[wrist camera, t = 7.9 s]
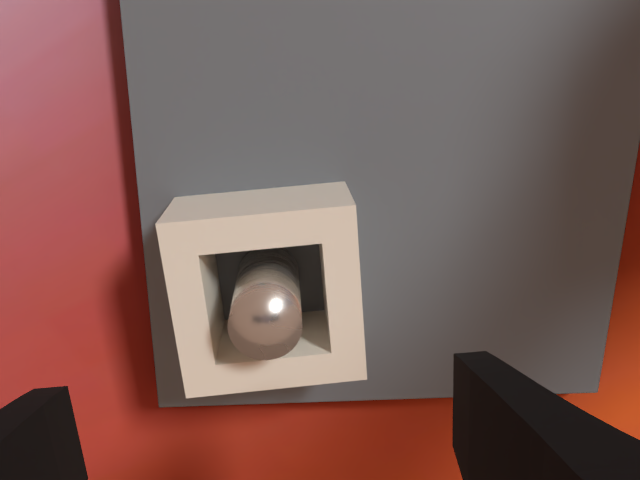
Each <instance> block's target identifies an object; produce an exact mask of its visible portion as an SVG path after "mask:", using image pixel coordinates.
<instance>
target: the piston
mask: <svg viewBox="0 0 640 480" xmlns="http://www.w3.org/2000/svg"><path fill="white" fill-rule="evenodd" d="M302 327H303V325H302V311H301V298H300V284H299V271H298V265H297V262H296V260H295V258H294V257H293V256H292V255H291V254H290V252H288V251H287V250H286V249H284V248H282V247H281V248H271V249H260V250H250V251H248V252H247V253H246V254H245V255H244V257H243V258H242V260H241V262H240V264H239V268H238V273H237V278H236V283H235V288H234V293H233V298H232V303H231V309H230V314H229V319H228V334H229V337H230V339H231V341H232V343H233V345H234V346H235V347H236V348H237V349H238V350H239V351H240V352H241V353H243V354H244V355H246V356H248V357H250V358H253V359H258V360H272V359H277V358H280V357H282V356H284V355H286V354H287V353H289V352H290V351H291V350H292V349H293V348H294V347H295V346H296V345H297V343H298V342H299V340H300V337H301V334H302Z"/></svg>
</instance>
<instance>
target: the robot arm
mask: <svg viewBox="0 0 640 480" xmlns="http://www.w3.org/2000/svg"><path fill="white" fill-rule="evenodd" d="M453 448H454V452H455V455H456V458H457V462H458V465H459V468H460V471H461V475H462V478H463V480H640V440H638V439H636V438H634V437H632V436H630V435H628V434H626V433H624V432H622V431H620V430H618V429H616V428H614V427H613V426H611V425H609V424H607V423H605V422H603V421H602V420H600V419H598V418H596V417H594V416H592V415H590V414H589V413H587V412H585V411H583V410H582V409H580V408H578V407H576V406H575V405H573V404H571V403H569V402H568V401H566V400H564V399H563V398H561V397H559V396H558V395H556V394H555V393H553V392H551V391H550V390H548V389H546V388H545V387H543V386H542V385H540V384H538V383H537V382H535V381H534V380H532V379H531V378H529V377H527V376H526V375H524V374H523V373H521V372H520V371H518V370H516V369H515V368H513V367H512V366H510V365H509V364H507V363H505V362H504V361H502V360H501V359H499V358H497V357H496V356H494V355H492V354H490V353H489V352H487V351H479V352H467V353H455V354H454V362H453ZM0 480H88V476H87V471H86V467H85V463H84V458H83V454H82V449H81V445H80V440H79V436H78V431H77V427H76V422H75V418H74V413H73V409H72V404H71V400H70V395H69V391H68V386H63V387H51V388H40V389H33V390H31V391H29V392H27V393H26V394H24V395H22V396H20V397H19V398H17V399H15V400H14V401H12V402H11V403H9V404H8V405H6V406H4V407H3V408H1V409H0Z"/></svg>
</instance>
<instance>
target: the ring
mask: <svg viewBox="0 0 640 480" xmlns="http://www.w3.org/2000/svg"><path fill="white" fill-rule="evenodd" d="M155 225H156V231H157V237H158V242H159V248H160V254H161V259H162V265H163V271H164V276H165V282H166V288H167V293H168V299H169V305H170V310H171V316H172V322H173V328H174V333H175V339H176V345H177V350H178V356H179V362H180V367H181V373H182V379H183V384H184V390H185V396H186V398H195V397H205V396H214V395H224V394H233V393H243V392H253V391H262V390H272V389H281V388H291V387H301V386H310V385H320V384H329V383H339V382H348V381H358V380H367V368H366V352H365V337H364V321H363V306H362V290H361V274H360V259H359V243H358V228H357V212H356V204H355V202H354V200H353V197H352V195H351V193H350V191H349V189H348V187H347V185H346V183H345V181H343V182H332V183H321V184H310V185H300V186H289V187H278V188H267V189H257V190H246V191H235V192H225V193H214V194H203V195H192V196H182V197H174V199H173V200H172V202H171V203H170V204H169V206H168V207H167V208H166V210H165V211H164V213H163V214H162V215H161V217H160V218H159V220H158V221H157V222H156V224H155ZM312 244H319V253H320V264H321V276H322V287H323V299H324V310H321V311H311V312H302V325H303V327H302V334H301V337H300V340H299V342H298V343H297V345H296V346H295V347H294V348H293V349H292V350H291V351H290V352H289V353H287V354H286V355H284V356H282V357H280V358H277V359H272V360H258V359H253V358H250V357H248V356H246V355H244V354H243V353H241V352H240V351H239V350H238V349H237V348H236V347H235V346H234V345H233V343H232V341H231V339H230V337H229V334H228V320H225V319H224V312H223V305H222V298H221V291H220V284H219V277H218V270H217V263H216V257H215V254H219V253H229V252H240V251H250V250H260V249H271V248H281V247H291V246H302V245H312Z"/></svg>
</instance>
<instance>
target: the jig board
mask: <svg viewBox="0 0 640 480" xmlns="http://www.w3.org/2000/svg"><path fill="white" fill-rule="evenodd" d="M120 10H121V20H122V31H123V41H124V52H125V62H126V72H127V83H128V93H129V103H130V114H131V124H132V134H133V145H134V155H135V166H136V176H137V186H138V197H139V207H140V217H141V228H142V238H143V248H144V259H145V269H146V280H147V290H148V300H149V311H150V321H151V331H152V342H153V352H154V363H155V373H156V383H157V394H158V404H159V407H184V406H213V405H243V404H272V403H302V402H331V401H361V400H390V399H419V398H449V397H453V362H454V354H455V353H467V352H479V351H487V352H489V353H490V354H492V355H494V356H496V357H497V358H499V359H501V360H502V361H504V362H505V363H507V364H509V365H510V366H512V367H513V368H515V369H516V370H518V371H520V372H521V373H523V374H524V375H526V376H527V377H529V378H531V379H532V380H534V381H535V382H537V383H538V384H540V385H542V386H543V387H545V388H546V389H548V390H550V391H551V392H553V393H555V394H566V393H596V392H598V387H599V381H600V375H601V369H602V363H603V357H604V351H605V345H606V339H607V333H608V327H609V321H610V315H611V309H612V303H613V297H614V291H615V285H616V279H617V273H618V267H619V261H620V256H621V250H622V244H623V238H624V232H625V226H626V220H627V214H628V208H629V202H630V196H631V190H632V184H633V178H634V172H635V166H636V160H637V154H638V148H639V142H640V0H120ZM343 181H345V183H346V185H347V187H348V189H349V191H350V193H351V195H352V197H353V200H354V202H355V204H356V212H357V228H358V243H359V259H360V274H361V290H362V306H363V321H364V337H365V352H366V368H367V380H358V381H348V382H339V383H329V384H320V385H310V386H301V387H291V388H281V389H272V390H262V391H253V392H243V393H233V394H224V395H214V396H205V397H195V398H186V396H185V390H184V384H183V379H182V373H181V367H180V362H179V356H178V350H177V345H176V339H175V333H174V328H173V322H172V316H171V310H170V305H169V299H168V293H167V288H166V282H165V276H164V271H163V265H162V259H161V254H160V248H159V242H158V237H157V231H156V225H155V224H156V222H157V221H158V220H159V218H160V217H161V215H162V214H163V213H164V211H165V210H166V208H167V207H168V206H169V204H170V203H171V202H172V200H173V199H174V197H182V196H192V195H203V194H214V193H225V192H235V191H246V190H257V189H267V188H278V187H289V186H300V185H310V184H321V183H332V182H343ZM282 248H284V249H286V250H287V251H288V252H290V254H291V255H292V256H293V257H294V258H295V260H296V262H297V265H298V271H299V284H300V298H301V311H302V312H311V311H321V310H324V299H323V287H322V276H321V264H320V253H319V244H312V245H302V246H291V247H282ZM247 252H248V251H240V252H229V253H219V254H215V257H216V263H217V270H218V277H219V284H220V291H221V298H222V305H223V312H224V319H225V320H228V319H229V314H230V309H231V303H232V298H233V293H234V288H235V283H236V278H237V273H238V268H239V264H240V262H241V260H242V258H243V257H244V255H245V254H246V253H247Z"/></svg>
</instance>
